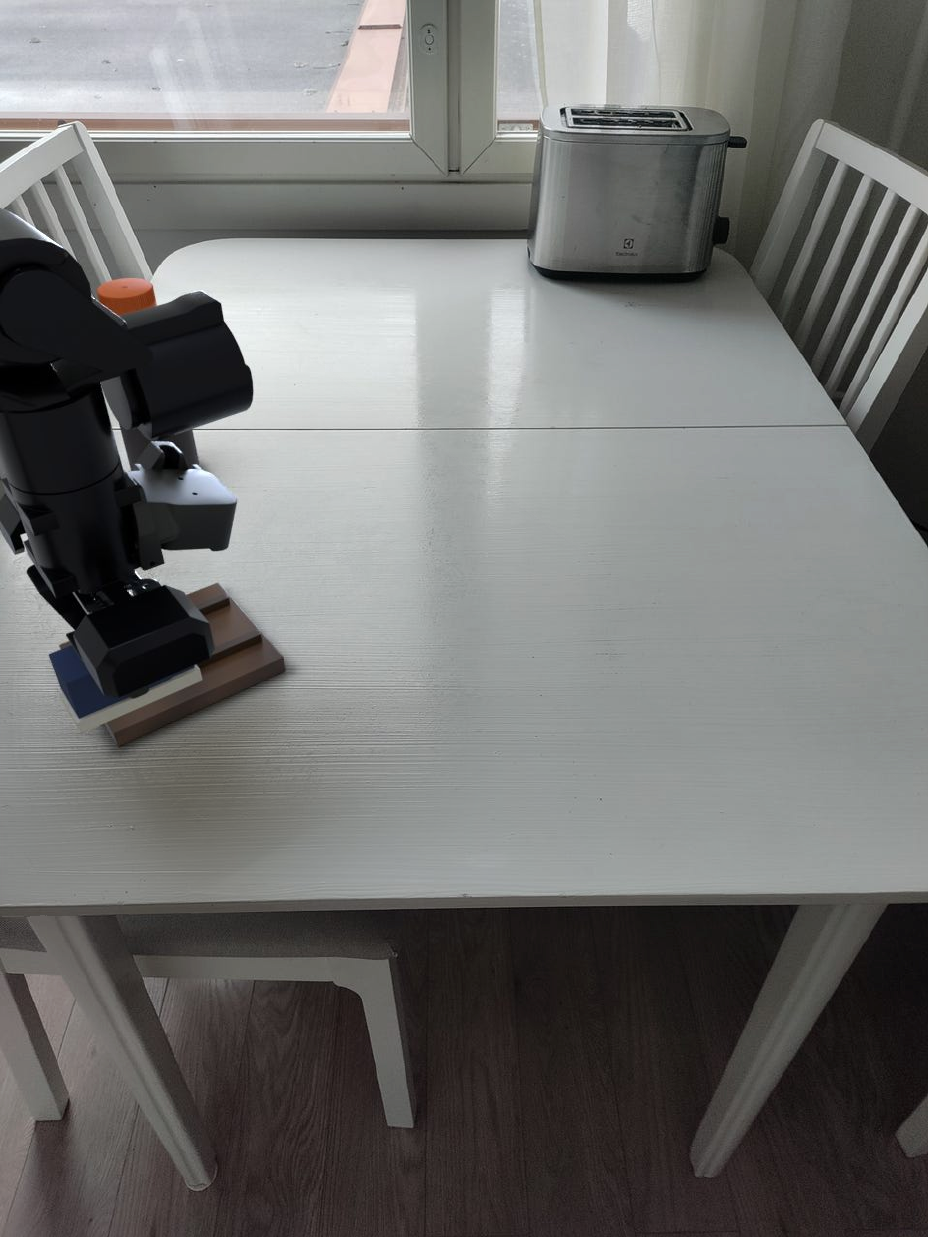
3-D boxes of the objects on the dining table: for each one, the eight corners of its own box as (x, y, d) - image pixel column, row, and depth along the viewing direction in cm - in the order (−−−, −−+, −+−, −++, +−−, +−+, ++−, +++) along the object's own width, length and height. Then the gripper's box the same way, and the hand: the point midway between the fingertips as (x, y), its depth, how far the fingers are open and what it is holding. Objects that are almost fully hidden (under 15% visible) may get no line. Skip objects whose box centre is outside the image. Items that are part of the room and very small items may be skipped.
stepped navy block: (81, 734, 58) (63, 687, 56) (61, 700, 61) (43, 653, 58) (202, 680, 62) (191, 633, 59) (179, 650, 64) (168, 604, 62)
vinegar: (205, 459, 102) (168, 272, 89) (196, 494, 97) (156, 301, 84) (140, 461, 102) (94, 274, 89) (128, 496, 96) (77, 303, 83)
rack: (117, 747, 71) (110, 726, 69) (63, 658, 78) (55, 637, 77) (286, 670, 77) (282, 649, 76) (221, 595, 85) (216, 574, 83)
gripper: (284, 495, 49) (313, 711, 59) (141, 362, 60) (186, 562, 70) (65, 574, 43) (139, 795, 54) (-45, 412, 55) (33, 620, 65)
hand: (129, 678), depth 61 cm, fingers closed on stepped navy block, 3 cm apart
